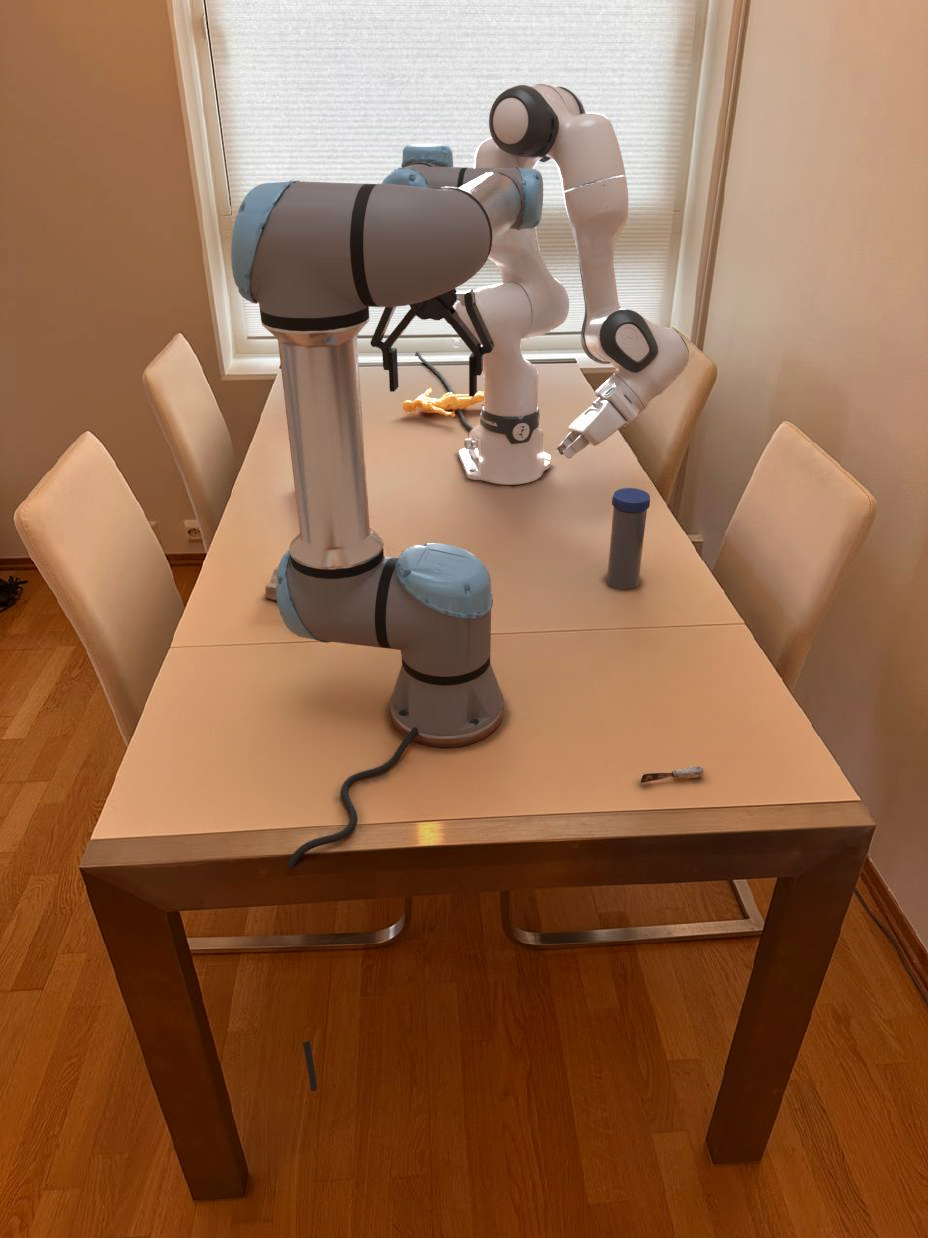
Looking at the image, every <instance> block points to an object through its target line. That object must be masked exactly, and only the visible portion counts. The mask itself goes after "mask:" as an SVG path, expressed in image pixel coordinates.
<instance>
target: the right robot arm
mask: <svg viewBox="0 0 928 1238" xmlns="http://www.w3.org/2000/svg"><path fill="white" fill-rule="evenodd" d="M488 129H489V134H490V136H491V137H489V138H486V139H485V140H484V141H482V142H481V143H480V144H479V145H478V146H477V148H476V151H475V155H474V165H473V168H515V167H521V168H523V169H535V168H536V165H537V164H538V162H540V163H546V162H548V161H550V160H552V161H553V162H554V163H555V165H556V167H557V169H558V173H559V177H560V182H561V189H562V194H563V200H564V205H565V210H566V213H567V218H568V223H569V225H570V229H571V233H572V237H573V241H574V245H575V248H576V253H577V257H578V266H579V272H580V273H579V274H580V280H581V288H582V294H583V303H584V317H583V322H582V326H581V331H580V343H581V347H582V350H583V351H584V353H585V354H586V356H587V357H588V358H589V359H590V360H591V361H594V362H595V363H598V364H601V365H609V364H611V365H612V366H613V367H614V369H615V372H614V373H613V374H612V375H611V376H610V377H609V378H608V379H606V380H605V382H603V383H602V384H601V385H600V386H599V387H598V388H597V389H596V390H595V391H594V395H595V397H596V399H595V400H594V401H592V403H591V404H592V405H591V406H589V407H588V408H587V409H586V410H584V412H582V413H581V414H580V415H579V416H578V417H576V418H575V419H574V420H573V421H572V422H571V423H570V424H569V426H568V427H567V430H568V431H569V433H568V434H567V435H566V436H565V437H564V439H563V440H562V441H561V442H560V443H559V444H558V445H557V446H556V447H555V450H556V451H557V453H558V454H559V455H562V456H563V455H564V456H565V457H566V458H567V459H572V458H573V457H574V456H575V455H576V454H577V453H579V452H580V451H581V450H583V449H585V448H587V446H588V445H590V446H593V447H597V446H598V445H600V444H601V443H603V442H605V441H606V440H607V439H608V438H609V437H611V436H612V435H613V434H615V433H616V432H617V431H618V430H619V429H621V428H622V427H627V426H628V425H629V424H631V423H633V421H635V419H637V417H638V416H639V415H640V414H641V413H642V412H643V411H644V410H645V409H646V408H647V407H648V406H649V404H650V403H651V402H652V401H653V399H654V398H656V397H658V396H660V395H661V394H663V393H664V392H665V391H666V390H667V389H668V388H669V387H670V386H671V385H672V384H673V383H674V382H675V381H676V380H677V379H678V378H679V377H680V376H681V375H682V373H683V372H684V371H685V370H686V368H687V366H688V365H689V363H690V351H689V347H688V345H687V343H686V341H685V340H684V338H683V336H682V335H681V334H680V333H679V332H678V331H677V330H676V329H674V328H673V327H666V326H662V325H659V324H657V323H654V322H652V321H650V320H649V319H647V318H646V317H644V316H643V315H642V314H640V313H639V312H636V311H634V310H632V309H628V308H622V307H621V305H620V302H619V297H618V290H617V289H618V288H617V281H616V273H615V265H614V256H615V255H614V254H615V249H616V245H617V242H618V239H619V236H620V235H621V232H622V231H623V229H624V227H625V226H626V223H627V221H628V218H629V188H628V182H627V176H626V170H625V169H626V168H625V165H624V160H623V156H622V151H621V149H620V144H619V141H618V138H617V134H616V132H615V129H614V127H613V124H612V122H611V120H610V118H608V117H606V116H605V115H604V114H602V113H599V112H586V110H585V107H584V104H583V103H582V100H581V99H580V98H579V96H577V94H575V93H574V92H573V91H572V90H570V89H568V88H566V87H564V86H558V85H557V86H555V85H553V84H547V83H536V84H531V85H527V84H518V85H514V86H511V87H509V88H507V89H506V90H504V91H502V92H501V93H500V94H499V95H498V96H497V97H496V99H494V101H493V103H492V105H491V108H490V111H489V116H488ZM537 231H538V230H537V227H536V228H533V229H521V230H517V229H508V230H507V231H506V232H505V233H504V234H503V235H502V236H501V237H500V238H499V239H498V240H497V241H496V242H495V243H494V244H492V248H491V252H490V255H489V257H488V259H487V260H489V261H492V262H493V263H494V264H495V265H496V267H497V269H498V270H499V273H500V277H501V281H502V283H497V284H492V285H486V286H482V287H479V288H476V289H474V290H473V291H474V292H475V300H476V305H477V307H478V310H479V312H480V314H481V316H482V318H483V320H484V323H485V325H486V327H487V329H488V331H489V334H490V336H491V338H492V340H493V342H494V345H495V347H494V348H493V350H492V351H491V352H490V353H486V354H484V355H483V372H482V377H483V392H484V401H483V404H481V406H482V408H481V412H480V414H479V415H480V416H479V417H480V418H479V423H478V424H477V425H475V426H474V427H472V426H471V425H470V424H469V423H468V421H467V420H466V418H465V416H464V414H463V412H462V410H461V409H457V410H456V412H457V414H458V416H459V418H460V420H461V423H462V425H464V427H465V428H466V429H467V430H469V434H468V438H465V439H464V447H463V448H460V449H459V450H458V457H459V460H460V463H461V465H462V467H463V470H464V473H465V475H466V477H467V479H469V480H474V481H483V482H487V483H490V484H496V485H506V486H514V485H515V486H516V485H523V484H524V485H525V484H528V483H531V482H534V481H537V480H539V479H540V478H541V477H542V476H543V474H544V472H545V471H547V470H548V469H550V467H551V463H550V460H551V455H550V454H549V453H547V452H545V433H544V430H542V429H541V428H539V426H540V419H541V414H540V408H539V406H538V403H539V401H538V399H539V396H538V395H539V377H540V376H539V371H538V369H537V368H536V366H535V365H534V364H533V363H532V362H530V361H529V360H527V359H525V358H524V357H523V353H522V347H521V344H522V340H527V339H530V338H534V337H539V336H542V335H546V334H547V333H549V332H551V331H554V330H555V329H557V328H559V327H560V326H562V325H563V324H564V323H565V322H566V320H567V318H568V316H569V311H570V299H569V295H568V292H567V290H566V288H565V286H564V285H563V284H562V282H560V281H559V280H558V279H557V278H555V277H554V276H553V275H552V273H551V272H550V270H549V269H548V267H547V265H546V263H545V261H544V258H543V255H542V253H541V248H540V246H539V239H538V232H537ZM454 309H455V310H456V311H457V313H458V315H459V317H460V318H461V319H462V321H463V322H464V323H465V324H466V326H467V327H468V328H469V330H470V331H471V332H472V333H473V335H474V336H475V337H476V338H477V340H478V341H479V342H480V344H481V341H480V339H479V337H478V335H477V333H476V331H475V329H474V326H473V324H472V322H471V320H470V318H469V316H468V314H467V311H466V308H465V306H462V304H461V302H460V301H459V300H457V303H456V306H455V308H454ZM481 345H482V344H481ZM414 356H415V357H417V358H418V359H419V360H420V361H421V363H423V364H424V365H425V366H427V367H428V368H429V369H430V370H432V372H434V374H435V375H437V377H438V378H439V379H440V380H441V382H442V383H443V385H445V387H446V389H447V391H448V393H453V394H454V395H455V393H454V391H453V389H452V388H451V385H450V384H449V382H448V381H447V379H445V377H444V376H443V375H442V373H441V372H440V371H438V369H437V368H435V367H434V366H433V365H432V364H431V363H430V362H428V361H427V360H426V359H424V358H423V357H422V355H421V353H420V351H416V352H415V354H414ZM548 460H549V461H548Z"/></svg>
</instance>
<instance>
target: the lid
mask: <svg viewBox="0 0 928 1238" xmlns="http://www.w3.org/2000/svg"><path fill="white" fill-rule="evenodd" d="M611 504H612V506H613V507H615V508H616V509H618V510H620V511H624V512H631V513H635V512H642V511H645V510H647V511H648V509H649V508H650V504H651V495H650V493H648V492H647V491H646V490H643V489H640V488H635V487H633V488H632V487H624V488H619V489H617V490H615V491H614V492H613V494H612V499H611Z"/></svg>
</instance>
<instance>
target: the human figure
mask: <svg viewBox="0 0 928 1238" xmlns="http://www.w3.org/2000/svg"><path fill="white" fill-rule="evenodd" d="M424 391H425V392H423V393H422V394H420V395H418V396H416V398H415V399H414V400H404V401H403V402H402V411H404V412H405V413H410V414H412V413H414V412H417V408H418V409H420V410H421V411H423V412H424V413H427V414H439V415H443V416H444V417H449V416H450V417H451V418H452V417H453V418H454V417H455V416H456V414H455V411H457V409H461V411H462V410H464V409H467V408H469V407H471V406H473V405H476V404H478V403H481V402H484V391H478V390H477V392H476V394H475V395H474V397H469V393H468V394H460V393H457V394H455V393H454V392H453V393H454V394H453V393H449V392H446V393H444V394H443V395H442V396H441V397H440V398H434V397H429V396H430V395H432V394H433V392H434V391H433V389H432V385H429V387H428V389H424ZM450 410H452V411H450Z"/></svg>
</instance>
